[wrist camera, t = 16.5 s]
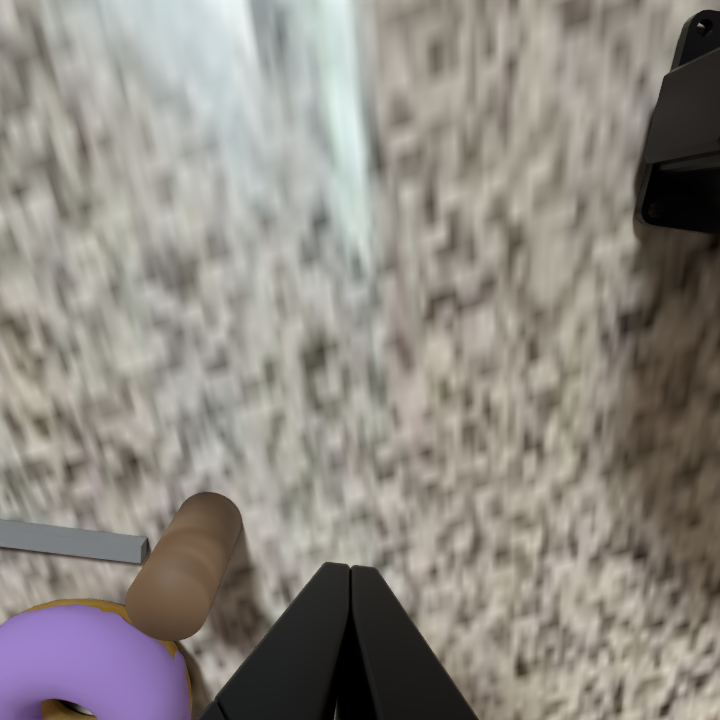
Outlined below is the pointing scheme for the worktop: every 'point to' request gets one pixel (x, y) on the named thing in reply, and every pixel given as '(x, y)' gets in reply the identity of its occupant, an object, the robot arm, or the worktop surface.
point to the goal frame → (72, 541)
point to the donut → (88, 666)
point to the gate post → (185, 569)
